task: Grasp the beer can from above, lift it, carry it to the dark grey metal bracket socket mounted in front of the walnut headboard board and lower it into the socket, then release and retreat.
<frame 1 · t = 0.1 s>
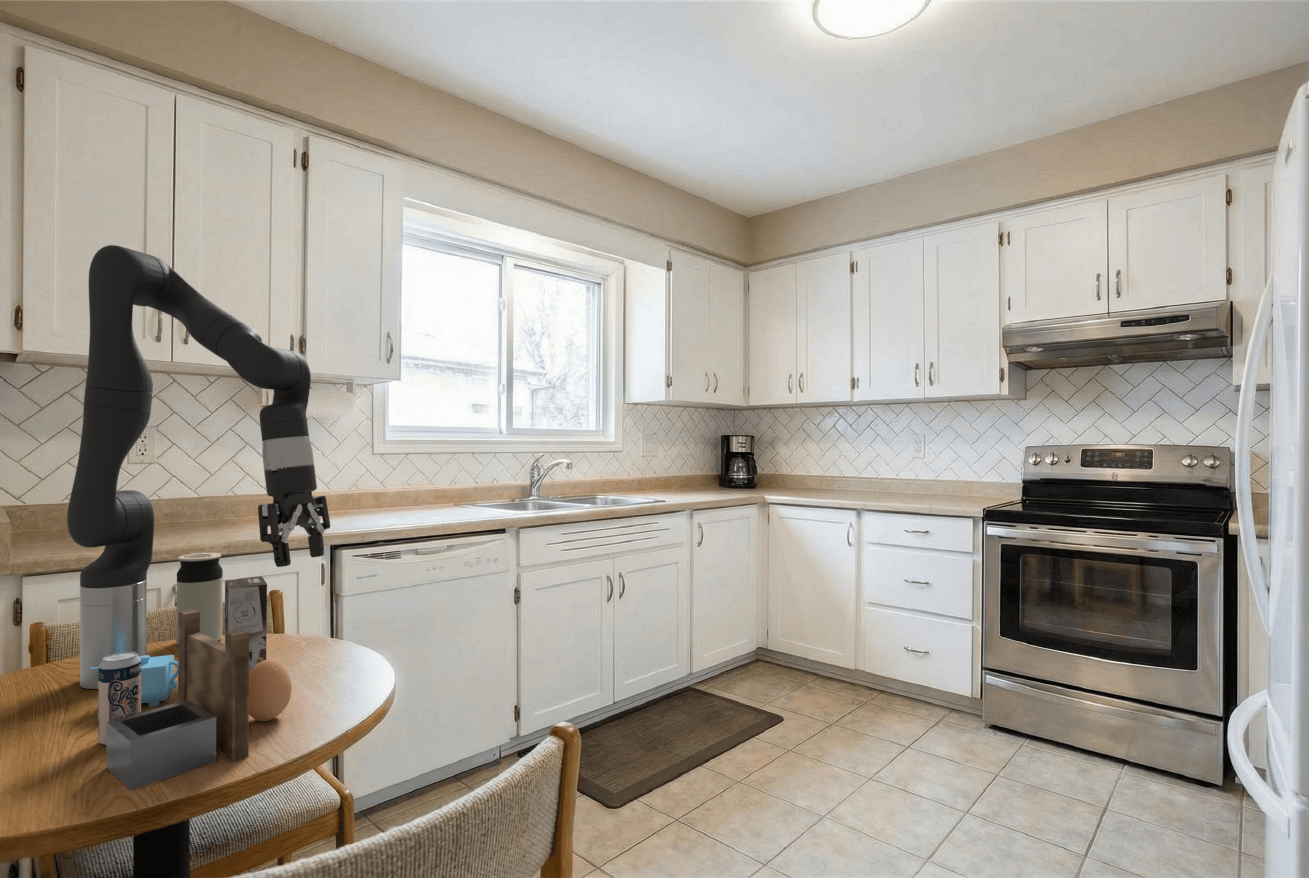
hand: (301, 561, 115), 22 cm above the table, tool pointing down, fingers open, 8 cm apart
teapot: (136, 704, 111), on the table
coffee box: (245, 668, 128), on the table
post bracket: (161, 764, 91), on the table
beer can: (119, 741, 98), on the table
egg: (267, 720, 105), on the table
headboard panel: (211, 739, 98), on the table
travel mug: (199, 642, 143), on the table
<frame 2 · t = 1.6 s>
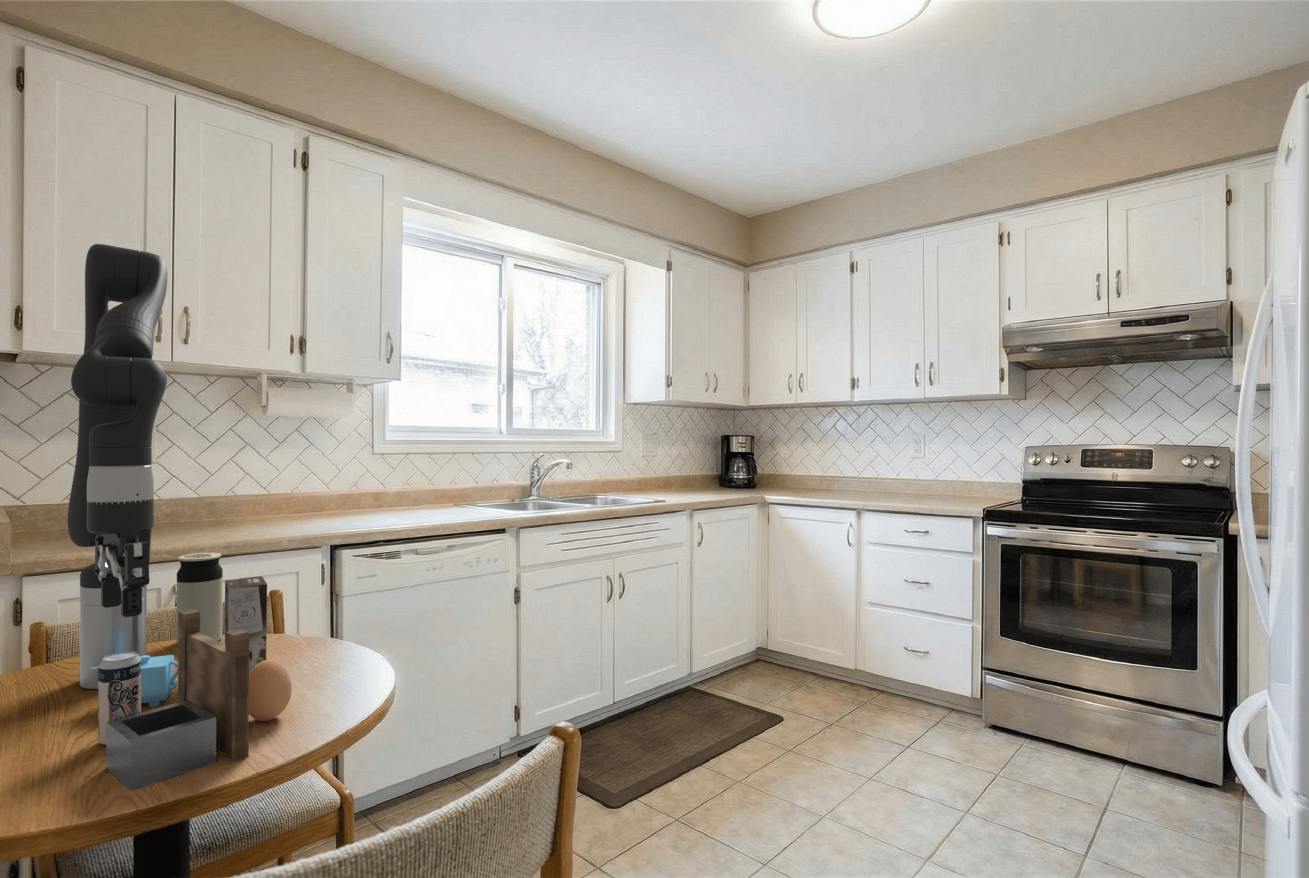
hand: (121, 611, 97), 18 cm above the table, tool pointing down, fingers open, 8 cm apart
nothing on the table moved.
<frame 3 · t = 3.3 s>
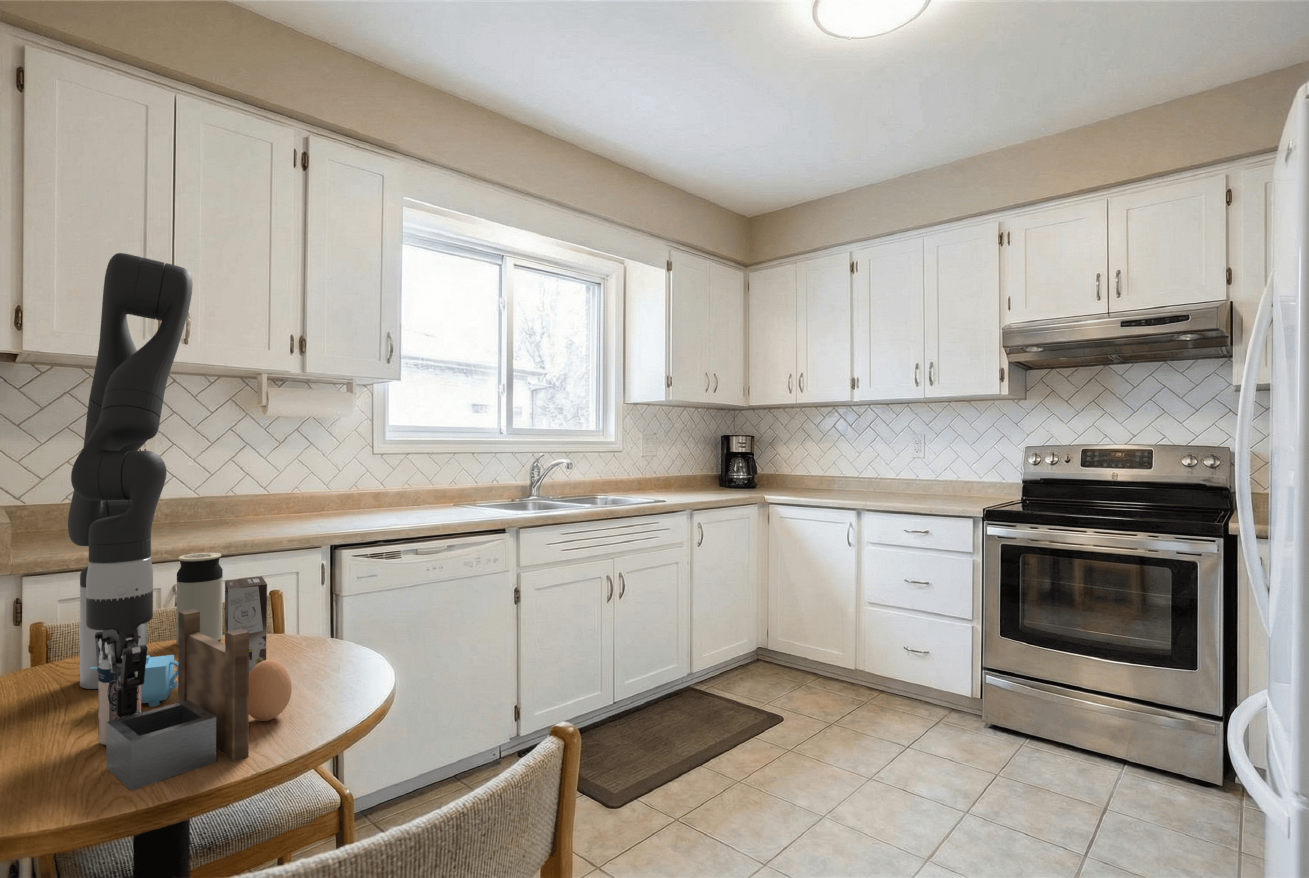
hand: (120, 709, 98), 4 cm above the table, tool pointing down, fingers closed on beer can, 4 cm apart
beer can: (119, 741, 98), on the table, touching gripper
everything else where it was.
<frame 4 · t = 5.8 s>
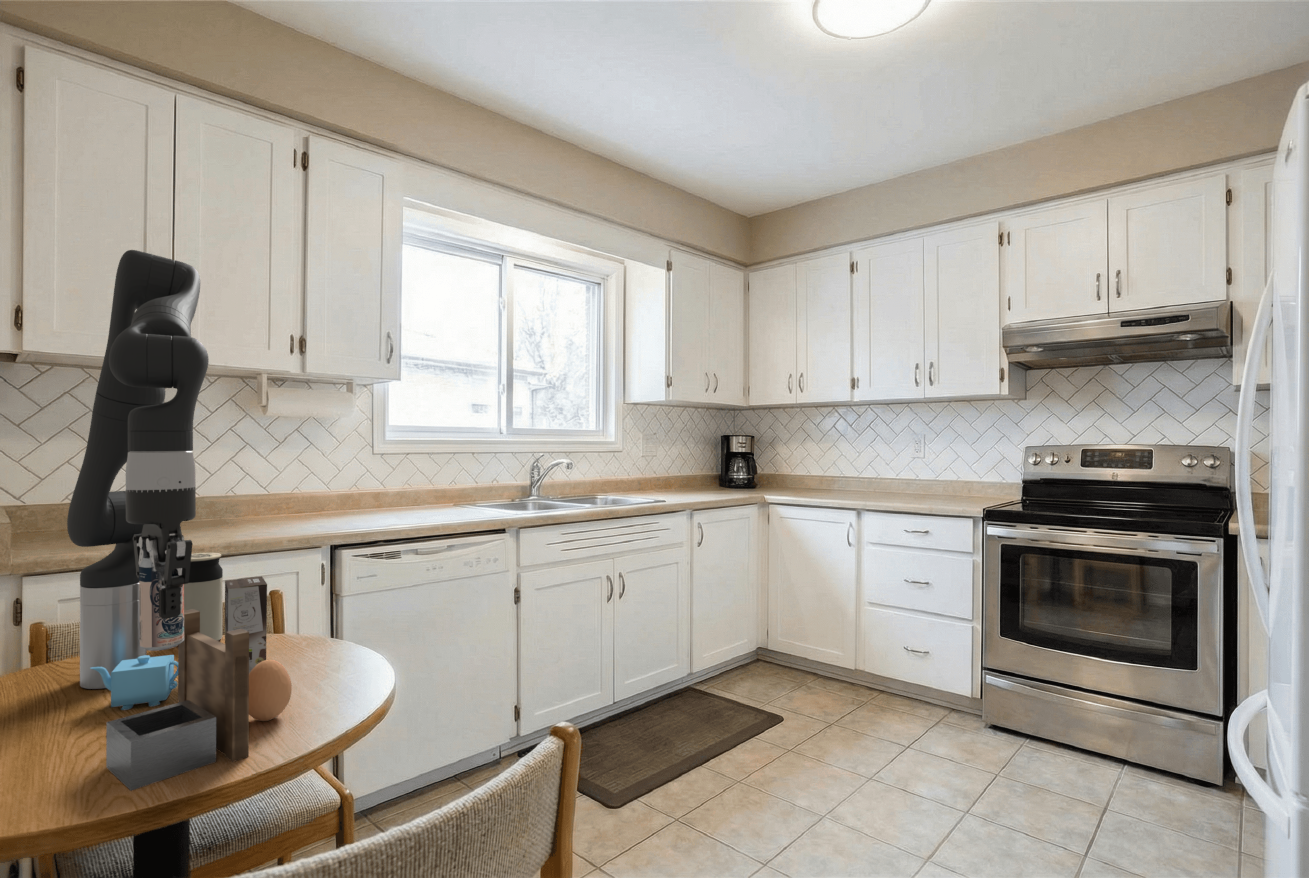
hand: (162, 613, 91), 20 cm above the table, tool pointing down, fingers closed on beer can, 4 cm apart
beer can: (162, 648, 91), point 15 cm above the table, touching gripper
everything else where it was.
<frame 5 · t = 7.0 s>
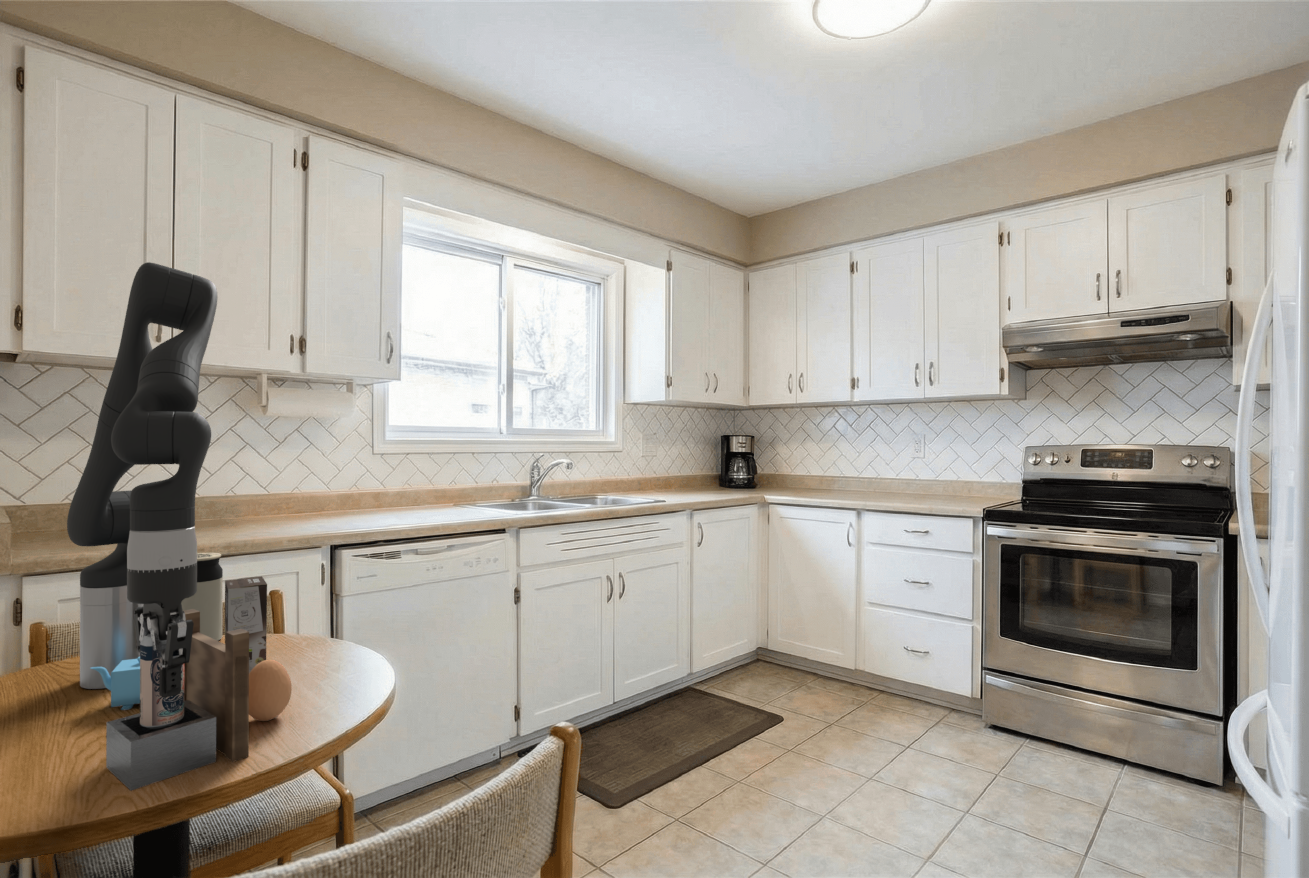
hand: (162, 689, 91), 10 cm above the table, tool pointing down, fingers closed on beer can, 4 cm apart
beer can: (162, 724, 91), point 5 cm above the table, touching gripper
everything else where it was.
when the fingers open (6 cm above the table, at t = 8.1 s): beer can drops 2 cm, resting in post bracket.
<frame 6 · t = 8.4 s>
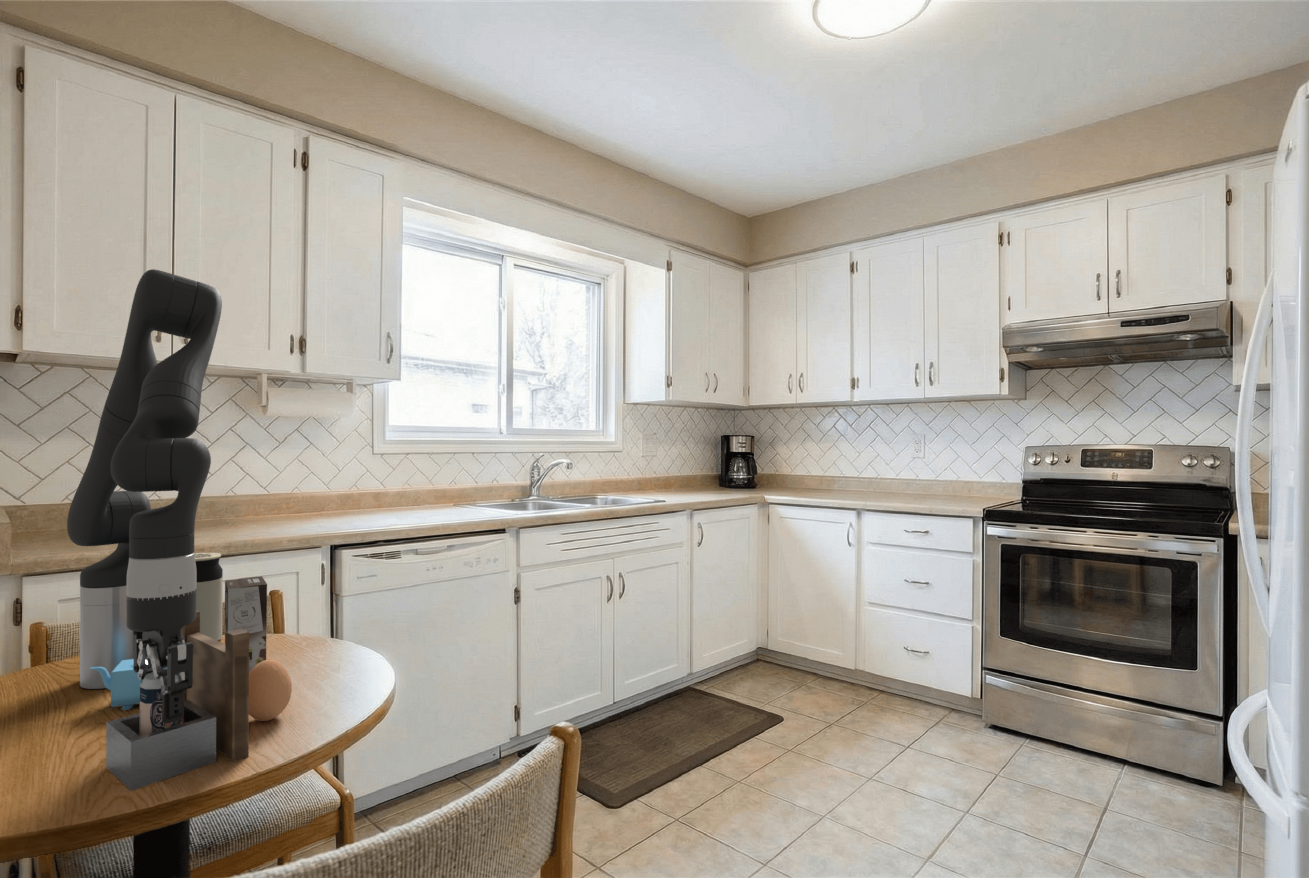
hand: (161, 713, 91), 7 cm above the table, tool pointing down, fingers open, 7 cm apart
beer can: (161, 765, 91), resting in post bracket
everything else where it was.
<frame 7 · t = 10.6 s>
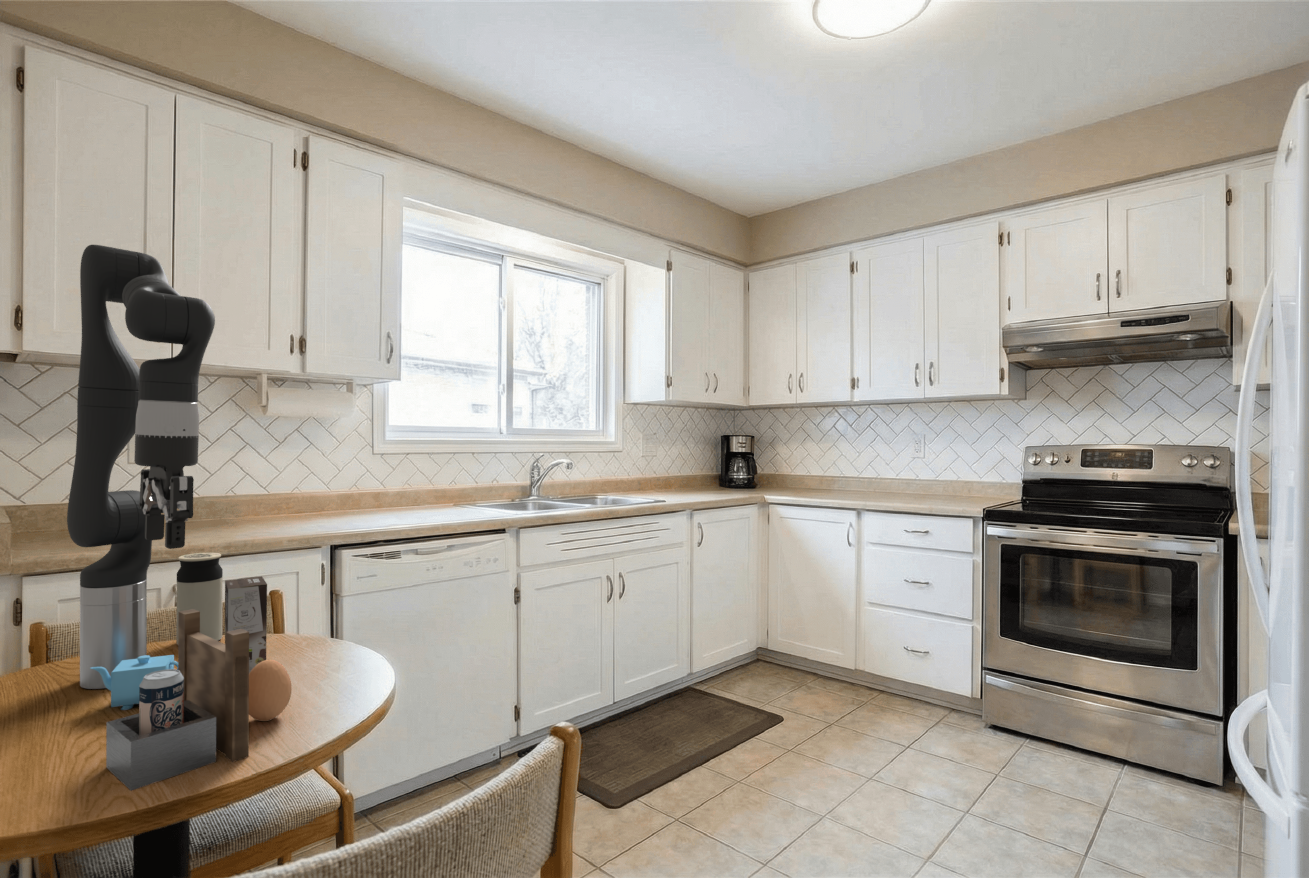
hand: (164, 543, 100), 28 cm above the table, tool pointing down, fingers open, 8 cm apart
nothing on the table moved.
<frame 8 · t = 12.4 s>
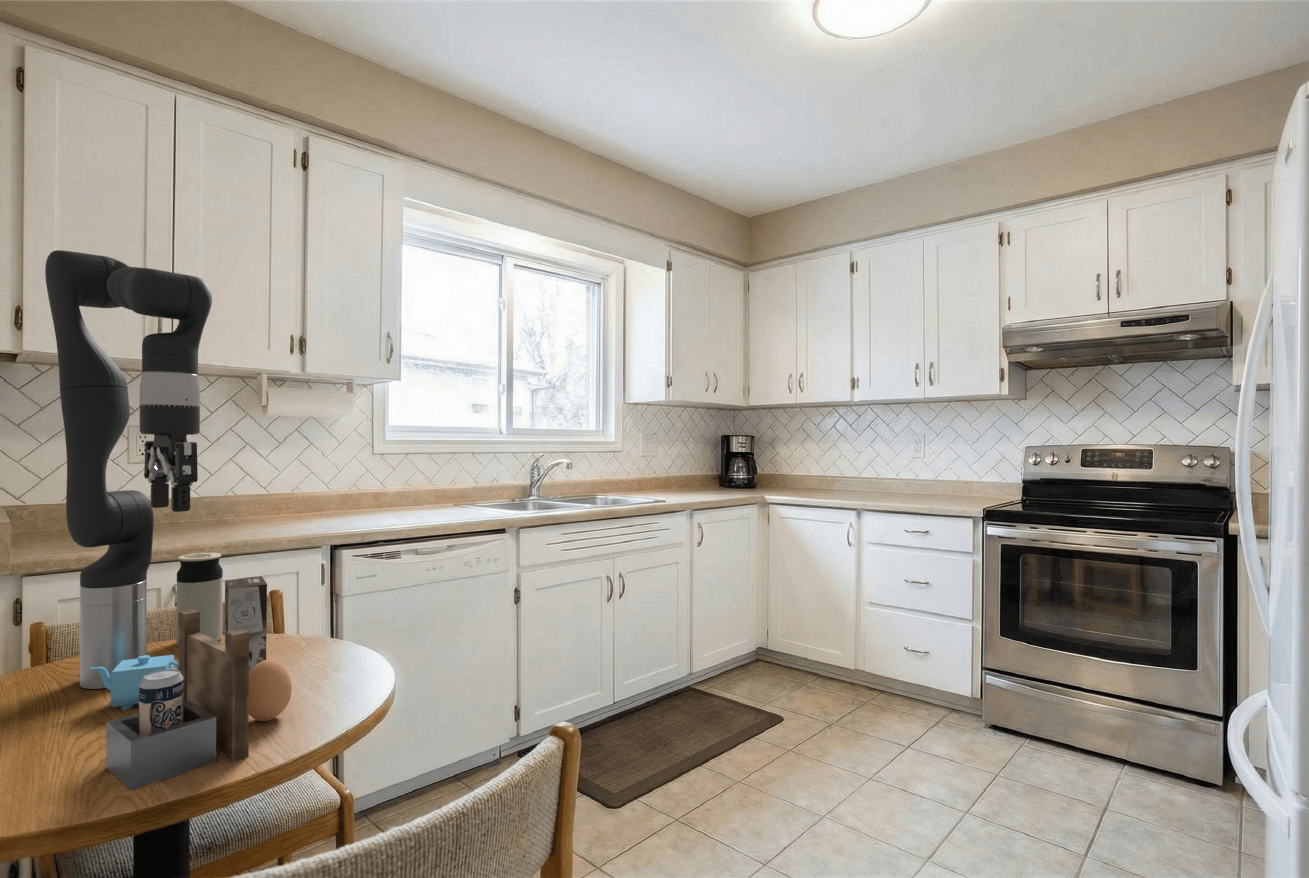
hand: (170, 509, 105), 32 cm above the table, tool pointing down, fingers open, 8 cm apart
nothing on the table moved.
at the end: beer can 0.1 cm off-centre on the post bracket, point 0.0 cm above the post bracket's base; beer can tilted 0°; the gripper is holding nothing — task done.
